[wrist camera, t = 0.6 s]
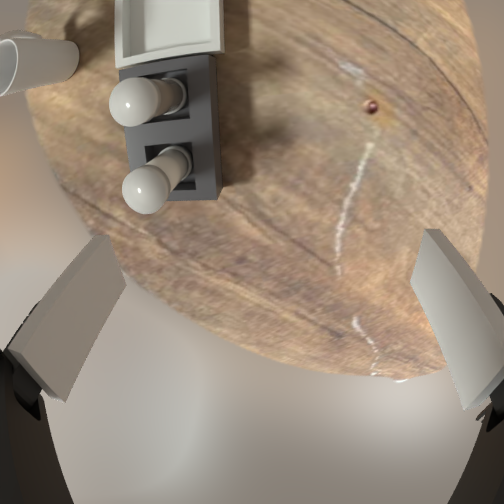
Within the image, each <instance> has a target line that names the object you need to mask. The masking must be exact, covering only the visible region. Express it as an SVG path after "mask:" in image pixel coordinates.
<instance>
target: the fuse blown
mask: <svg viewBox="0 0 504 504" xmlns="http://www.w3.org/2000/svg"><path fill="white" fill-rule="evenodd" d="M188 98H189V97H188V88H187V86H186V84H185V83H184V82H183V81H181V80H180V79H177V78H163V79H147V78H143V77H139V78H128V79H125V80H123V81H121V82H120V83H119V84H117V86H116V87H115V88H114V89H113V91H112V93H111V96H110V100H109V107H110V112H111V114H112V116H113V118H114V119H115V120H116V121H117V122H118V123H119V124H121V125H124V126H128V127H132V126H137V125H140V124H142V123H145V122H147V121H149V120H151V119H152V118H153V117H156V116H159V115H162V114H165V115H166V114H171V113H175V112H177V111H179V110H181V109H182V108H183V107H184V106H185V105H186V103H187V101H188Z"/></svg>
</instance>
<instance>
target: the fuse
mask: <svg viewBox="0 0 504 504" xmlns="http://www.w3.org/2000/svg"><path fill="white" fill-rule="evenodd" d="M193 166H194V161H193V155H192V153H191V152H190V150H189V149H188V148H186V147H184V146H182V145H177V144H176V145H171V146H169V147H167V148H165V149H164V150H162V151H161V152H160V153H159V155H158V156H157V157H155V158H154V159H152V160H151V161H150V162H148V163H147V164H145V165H142V166H139V167H138V168H136V169H135V170H133V171H132V172H131V173H129V174H128V175H127V176H126V178H125V180H124V182H123V186H122V192H123V197H124V199H125V201H126V203H127V204H128V205H129V206H130V207H131V208H132V209H133V210H135V211H136V212H139V213H142V214H151V213H154V212H156V211H157V210H159V209H160V208H161V207H162V205H163V204H164V203H165V202H166V200H167V199H168V197H169V195H170V192H171V191H172V190H173V189H174V188H175V187H176V186H177V184H178V183H179V182H180V181H182V180H184V179H185V178H186V177H187V176H188V175H189V173H190V172H191V171H192V169H193Z"/></svg>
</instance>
